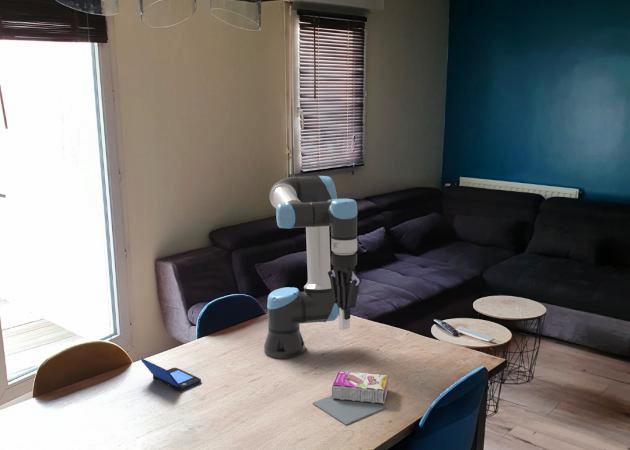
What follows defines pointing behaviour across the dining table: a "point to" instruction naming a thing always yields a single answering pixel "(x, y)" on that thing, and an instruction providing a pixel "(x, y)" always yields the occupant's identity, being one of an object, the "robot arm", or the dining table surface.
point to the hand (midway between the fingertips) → (344, 328)
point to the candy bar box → (360, 387)
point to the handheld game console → (172, 376)
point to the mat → (348, 409)
